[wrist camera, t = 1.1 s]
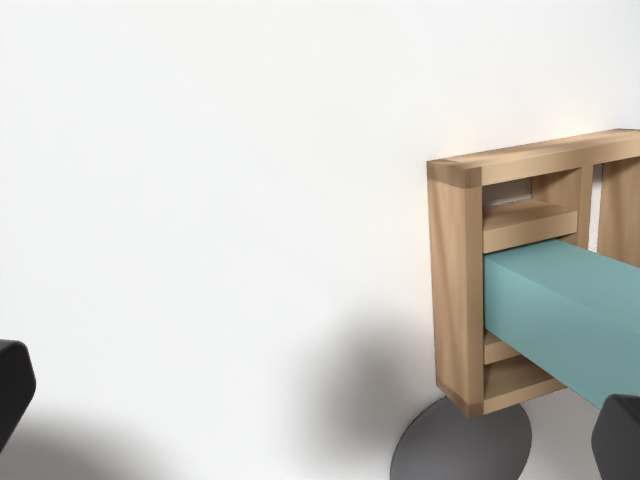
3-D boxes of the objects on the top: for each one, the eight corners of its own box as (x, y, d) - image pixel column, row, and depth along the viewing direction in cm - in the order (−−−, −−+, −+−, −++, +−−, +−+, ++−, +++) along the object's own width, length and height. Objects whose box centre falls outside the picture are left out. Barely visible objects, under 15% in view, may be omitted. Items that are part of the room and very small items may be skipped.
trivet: (464, 538, 29) (468, 544, 28) (358, 493, 25) (361, 499, 25) (552, 423, 28) (557, 427, 28) (456, 361, 25) (461, 365, 25)
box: (436, 384, 25) (469, 419, 22) (426, 161, 21) (464, 169, 18) (601, 334, 28) (649, 360, 25) (618, 128, 24) (676, 131, 21)
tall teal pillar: (455, 307, 24) (645, 442, 14) (453, 242, 23) (657, 342, 13) (521, 290, 25) (741, 405, 15) (522, 227, 24) (760, 310, 14)
